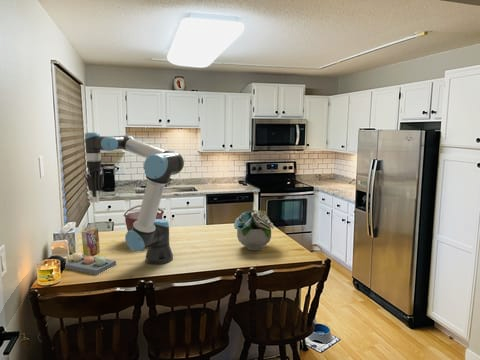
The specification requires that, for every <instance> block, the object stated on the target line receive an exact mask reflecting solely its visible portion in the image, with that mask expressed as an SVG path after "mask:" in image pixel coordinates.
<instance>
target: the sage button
mask: <svg viewBox="0 0 480 360" xmlns="http://www.w3.org/2000/svg"><path fill="white" fill-rule="evenodd" d="M95 257H96V258H95V263H96V266H97V267H102V266H104V265H106V260H105V259H106V256H104V255H100V256H95Z"/></svg>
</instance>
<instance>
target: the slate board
mask: <svg viewBox="0 0 480 360" xmlns="http://www.w3.org/2000/svg"><path fill="white" fill-rule="evenodd" d="M82 256H83V261H80V262H73V258H72V259H69V260H67V261H68V262H67V263H66V264H65V267H66V268H67V269H66V270H70V269H72V270H71V271H74V270H76V271H75V272H79V271H81V273H84V272H86V273H85V274H89V273H91V274H90V275H94V274H96V275H95V276H98V275H100V274H102V273H104V272H105V270H106V271H108V270H109V268H110V269H112V268H113V267H115V266H117V261H116V260H113V259H108V258H105V260H106V265H104V266H102V267H97V266H96V263H95V258H96V257H97V256H93V257H94V263H92V264H90V265H87V264H84V257H87V255H83V254H82ZM111 267H112V268H111ZM107 269H108V270H107ZM103 271H104V272H103ZM101 272H102V273H101ZM99 273H100V274H99Z"/></svg>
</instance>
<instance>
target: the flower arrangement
mask: <svg viewBox="0 0 480 360" xmlns="http://www.w3.org/2000/svg"><path fill="white" fill-rule="evenodd" d="M267 215H268V213H267V211H266V210H259V209H257V210H255V209H254V210H248V211H243V212H241V214H240V215H239V216H238V217H237V218H235V220H234V224H233V228H234V229H235V230H236V234H237V236H236V238H237V240H238V242H239V243H241V244H242V246H244V247H246V249H247V250H249V251H253V252H254V251H260V250H261V249H262V247H265V246H266V245H267V244H268V243H270V241H271V239H272V229H273V230H274V229H275V225H274V223H273V222H271V220H270V216H269V215H268V216H267Z"/></svg>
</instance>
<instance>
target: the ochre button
mask: <svg viewBox="0 0 480 360" xmlns="http://www.w3.org/2000/svg"><path fill="white" fill-rule="evenodd" d="M71 255H72V259H73V262H76V263H78V262H80V261H83V256H82V255H83V251H76V252H73V253H72V254H71Z"/></svg>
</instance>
